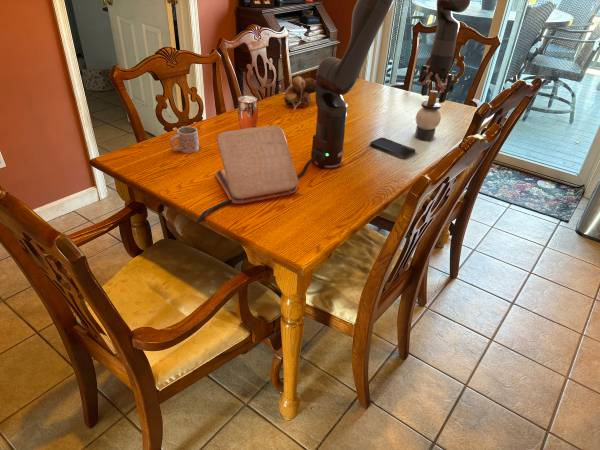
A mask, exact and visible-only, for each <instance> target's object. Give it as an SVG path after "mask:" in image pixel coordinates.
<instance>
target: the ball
mask: <svg viewBox="0 0 600 450" xmlns="http://www.w3.org/2000/svg"><path fill="white" fill-rule="evenodd" d="M441 120H442V115H441V112H440V111H439V109H438V110H430V109H426V108H423V107H421V108H420V109H419V110H418V111H417V112H416V115H415V123H416V126H417V125H418V127H419V128H421V129H423V130H433V129H435V128H436V129H437V127H438V126H440V123H441Z"/></svg>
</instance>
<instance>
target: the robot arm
mask: <svg viewBox="0 0 600 450" xmlns="http://www.w3.org/2000/svg"><path fill="white" fill-rule="evenodd" d="M394 1H395V0H357V1H356V3H355V5H354V7H353V9H352V15H351V24H350V25H351V27H350V38H349V43H348V45H347V47H346V50H345V52H344V54H343V56H342V58H341V59H340V58H338V57H334V56H328V57H325V58H323V59H322V60H321V61H320V63H319V64H318V67H317V69H316V73H315V74H316V75H315V76H316V77H315V81H316V92H315V104H316V107H317V110H316V124H315V134H313V135H312V144H311V153H310V157H311V158H310V159H309V160H308V161H307V162H306V163H305V165H304V167H303V168H302V170H301V171H300V173H298V174H297V178H298V179H300V178H301V177H302V176H303V175H304V174H305V173H306V172H307V169H308V168H309V166H310V165H311V164H314V165H315V166H317V167H318V168H319V169H321V170H323V169H327V170H329V169H331V170H332V169H337V168H339V167H341V166H342V164H343V155H344V154H345V152H346V151H345V149H344V143H345V135H346V124H347V115H348V104H347V102H346V100H345V99H344V98H343V96H345V95H346V94H348V93H349V92H350V91H351V90H352V89H353V87H354V86H355V84H356V83H357V81H358V79H359V75H360V74H361V71H362V68H363V66H364V63H365V61H366V58H367V56H368V54H369V52H370V49H371V47H372V45H373V43H374V41H375V38H377V35H378V32H379V30H380V29H381V27H382V26H383V23H384V22H385V19H386V17H387V15H388V14H389V12H390V10H391V8H392V6H393V4H394ZM471 2H472V0H436V18H437V19H436V21H437V26H436V31H435V36H434V39H433V43H432V45H431V51H430V56H429V60H428V64H423V65H422V66H421V68H420V72H419V76H418V82H419V83H421V90H420V95H421V96H422V97H424V96H427V95H428V91H429V84H430V83H431V82H432V83H435V84H437V85H438V87H439V89H440V93H439V98H438V103H439V104H443V103H445V102H446V99H447V95H448V93H452V92H454V87H455V82H456V77H457V75H456V74H455V73H453V74H452V73H449V72H450V69H451V67H452V63H453V60H454V56H455V55H454V54H455V49H456V45H457V44H456V43H457V38H458V33H459V29H460V22H459V21H458V20H457V19H455V18H454V17H453V13H458V14H459V13H463V12H465V11H467V10H468V8H469V7H470V6H471ZM230 204H233V203H232V200H229V199H227V200H225V201H222V202H220V203H218V204H215V205H213V206H211V207H209V208H207V209H205V210H204V211H203V212H202V213H201V214H200V215H199V217H198V219H197V221H196V223H197V224H201V223H202V221H203V220H204V218H205V216H206V215H207V214H209V213H211V212H213V211H215V210H217V209H219V208H221V207H223V206H226V205H230Z"/></svg>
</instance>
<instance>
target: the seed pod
mask: <svg viewBox="0 0 600 450" xmlns="http://www.w3.org/2000/svg"><path fill="white" fill-rule="evenodd" d="M315 93H316V79H314V78H312V77H308V78H303V77H302V76H299V75H297V76H294V77H293V78H292V82H291V85H289V86H288V87H287V88H286V89H285V91H284V97H283V101H284V103H285V105H286V106H288V107H293V111H296V109H297V107H298V106H301V107H302V108H304V107H308V106H310V104H311V102H312V101H311V100H312V97H311V94H315Z"/></svg>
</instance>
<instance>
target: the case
mask: <svg viewBox="0 0 600 450" xmlns="http://www.w3.org/2000/svg"><path fill="white" fill-rule="evenodd" d="M216 142H217V146H218V151H219V154H220V158H221V162H222V166H223V168H222V169H219V170H217V171H216V172H215V177H216V179H217V181H218V182H219V184H220V186H221V187H222V189H223V191H224V192H225V195H226V196H227V198H228V200H232V203H231V204H236V205H241V204H247V203H252V202H258V201H262V200H268V199H272V198H278V197H282V196H288V195H293V194H295V193H296V192H297V190H298V189H297V188H298V185H299V178H297V175H298V174H297V171H296V168H295V165H294V162H293V158H292V155H291V152H290V151H291V150H290V148H289V145H288V141H287V138H286V134H285V131H284V130H283V129H282V127H280V126H278V125H267V126H256V127H255V128H246V129H241V128H240V129H235V130H226V131H223V132H220V133H219V134H218V135H217V138H216Z"/></svg>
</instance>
